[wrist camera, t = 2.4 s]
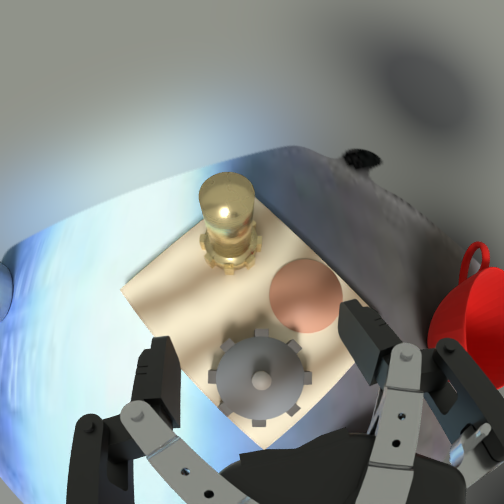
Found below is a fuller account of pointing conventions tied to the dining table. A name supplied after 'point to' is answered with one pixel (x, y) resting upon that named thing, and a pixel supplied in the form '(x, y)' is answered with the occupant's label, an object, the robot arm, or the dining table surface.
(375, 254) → the dining table surface
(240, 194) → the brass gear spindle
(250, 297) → the gear board
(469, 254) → the ceramic cup
